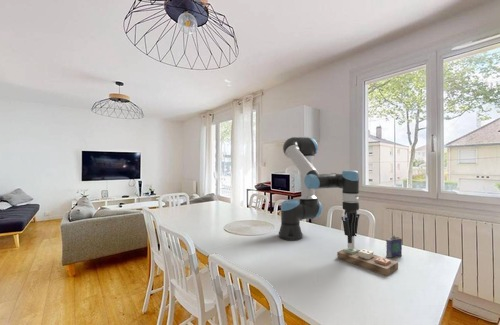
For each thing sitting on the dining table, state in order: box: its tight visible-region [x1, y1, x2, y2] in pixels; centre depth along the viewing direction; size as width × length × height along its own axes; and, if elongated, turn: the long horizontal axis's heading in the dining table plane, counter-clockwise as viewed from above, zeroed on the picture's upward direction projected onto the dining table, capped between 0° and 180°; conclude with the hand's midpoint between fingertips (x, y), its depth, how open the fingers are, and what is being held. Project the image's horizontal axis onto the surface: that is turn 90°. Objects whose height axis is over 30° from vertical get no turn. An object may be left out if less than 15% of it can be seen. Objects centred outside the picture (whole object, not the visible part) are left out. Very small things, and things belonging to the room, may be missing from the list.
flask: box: [385, 234, 403, 259], centre depth 116 cm, size 9×3×11 cm, turn 109°
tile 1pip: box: [343, 247, 359, 255], centre depth 114 cm, size 4×4×3 cm
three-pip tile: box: [375, 256, 392, 266], centre depth 102 cm, size 4×4×3 cm
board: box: [336, 248, 399, 277], centre depth 108 cm, size 23×11×3 cm, turn 36°
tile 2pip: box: [359, 248, 374, 260], centre depth 108 cm, size 4×4×3 cm
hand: (351, 248), depth 114 cm, fingers closed
